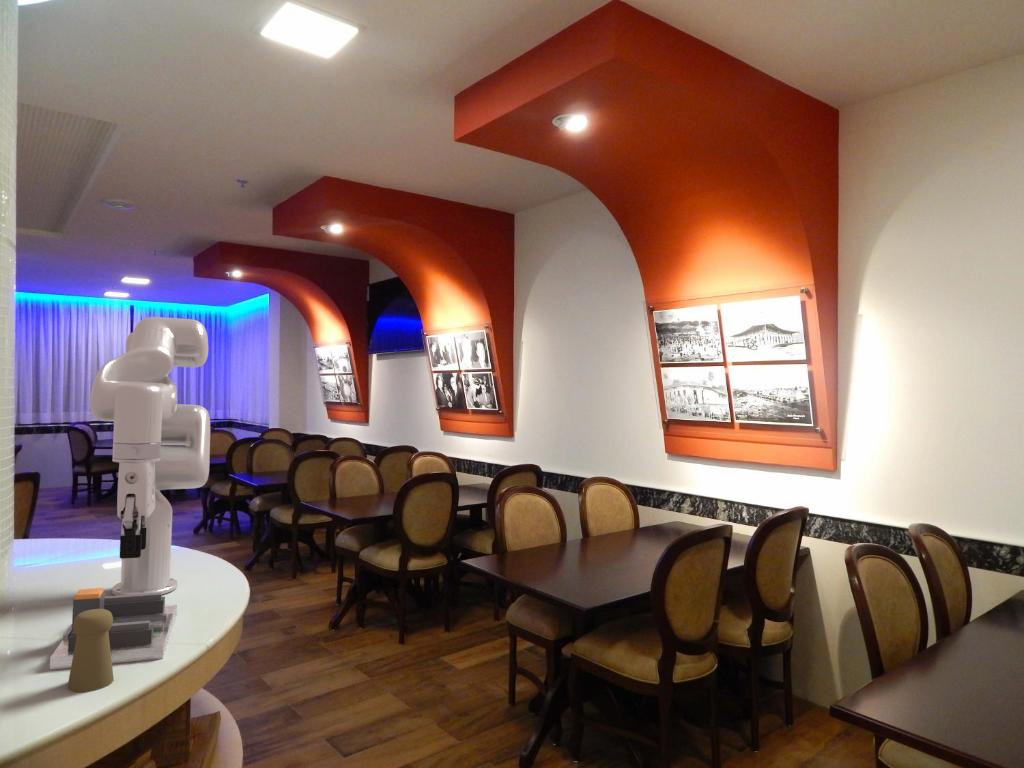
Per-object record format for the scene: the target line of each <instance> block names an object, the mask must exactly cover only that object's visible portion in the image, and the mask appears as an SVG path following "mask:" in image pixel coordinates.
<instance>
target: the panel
mask: <svg viewBox="0 0 1024 768" xmlns="http://www.w3.org/2000/svg"><path fill="white" fill-rule="evenodd" d="M177 610H178V605H177V604H174V605H165V609H164V612H163V613H156V614H144V615H131V616H118V617H113V623H125V622H137V621H149V620H150V625H154V630H153V640H152V643H151V644H145V645H134V646H123V647H113V648H110V651H111V660H112V665H113V664H120V663H121V664H125V663H131V662H141V661H142V662H143V661H152V660H161V659H163V658H164V657H165V656H164V655H165V652H166V649H167V646H168V644H169V640H170V636H171V633H172V632H173V631H172V630H173V628H174V625H175V621H176V618H177V616H178V613H177V612H178V611H177ZM71 633H72V623H71V624H70V625H69V627H68V628H67V630H65V632H64V634H63V636H62V637H63V638H62V640H61V642H60V643H59V645H58V646H57V647H56V648H55V650H54V652H53V653H52V655H51V656H50V657H49V671H53V670H63V669H71V665H72V660H73V654H74V651H70V652H68V638H69V636H70V634H71Z"/></svg>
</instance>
